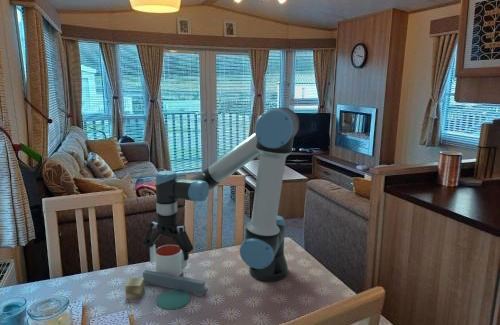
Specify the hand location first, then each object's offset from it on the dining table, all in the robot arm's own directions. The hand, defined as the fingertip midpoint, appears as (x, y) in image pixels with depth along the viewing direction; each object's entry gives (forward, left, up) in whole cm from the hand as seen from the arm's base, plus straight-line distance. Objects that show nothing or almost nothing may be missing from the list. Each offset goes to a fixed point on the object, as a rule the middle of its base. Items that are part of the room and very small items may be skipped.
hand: (168, 264), depth 133 cm
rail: (-6, +7, -4) cm, 11 cm away
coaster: (-10, +14, -4) cm, 18 cm away
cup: (0, 0, -4) cm, 4 cm away
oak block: (+4, +16, -4) cm, 17 cm away
